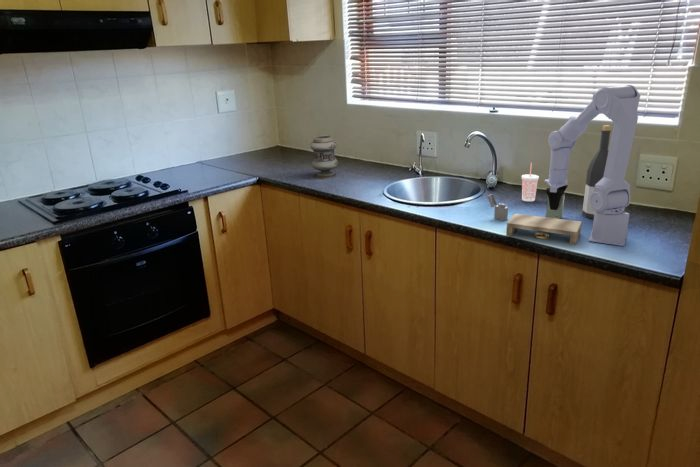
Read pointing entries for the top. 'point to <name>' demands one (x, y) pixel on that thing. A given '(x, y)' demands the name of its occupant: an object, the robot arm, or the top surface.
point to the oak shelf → (545, 225)
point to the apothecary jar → (324, 156)
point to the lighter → (498, 208)
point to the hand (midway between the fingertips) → (554, 207)
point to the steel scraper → (555, 213)
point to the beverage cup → (529, 186)
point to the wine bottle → (596, 171)
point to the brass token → (542, 235)
